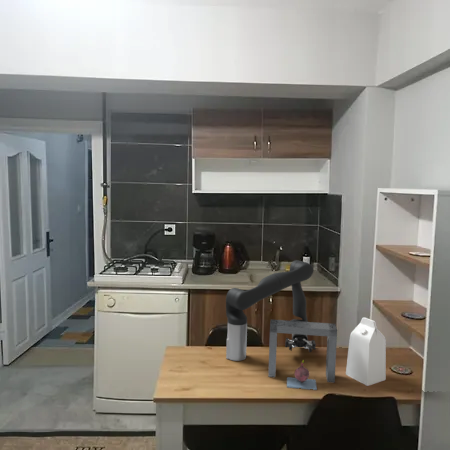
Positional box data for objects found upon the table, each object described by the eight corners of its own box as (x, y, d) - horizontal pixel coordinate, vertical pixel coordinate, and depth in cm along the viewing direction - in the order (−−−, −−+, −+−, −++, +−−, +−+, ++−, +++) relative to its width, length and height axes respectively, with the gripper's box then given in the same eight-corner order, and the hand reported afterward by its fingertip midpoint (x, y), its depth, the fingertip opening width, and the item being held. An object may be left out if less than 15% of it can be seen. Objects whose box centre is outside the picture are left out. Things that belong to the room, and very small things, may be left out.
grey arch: (268, 376, 183) (270, 325, 180) (269, 368, 191) (270, 319, 188) (334, 382, 179) (337, 330, 176) (332, 374, 187) (335, 323, 184)
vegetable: (297, 386, 173) (298, 363, 172) (291, 379, 179) (292, 357, 178) (311, 385, 175) (312, 362, 174) (305, 378, 181) (306, 356, 180)
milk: (385, 379, 183) (389, 321, 180) (367, 385, 177) (370, 325, 174) (363, 369, 193) (366, 313, 190) (345, 374, 187) (348, 317, 184)
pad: (286, 387, 174) (287, 385, 174) (286, 378, 182) (286, 377, 182) (316, 390, 172) (316, 388, 172) (315, 381, 180) (315, 379, 180)
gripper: (285, 328, 212) (285, 340, 196) (314, 330, 210) (316, 343, 194) (285, 343, 213) (284, 356, 197) (313, 345, 211) (315, 358, 195)
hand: (300, 349), depth 196 cm, fingers open, 8 cm apart
